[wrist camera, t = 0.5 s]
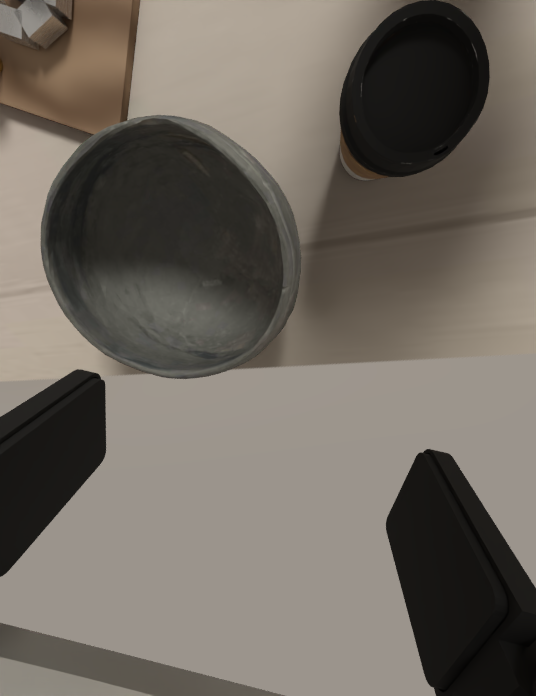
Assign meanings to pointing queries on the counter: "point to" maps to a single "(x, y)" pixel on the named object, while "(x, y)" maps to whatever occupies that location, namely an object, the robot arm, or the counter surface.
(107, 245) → the bowl
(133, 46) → the post base
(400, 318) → the counter surface
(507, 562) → the robot arm
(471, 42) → the coffee cup
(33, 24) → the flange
